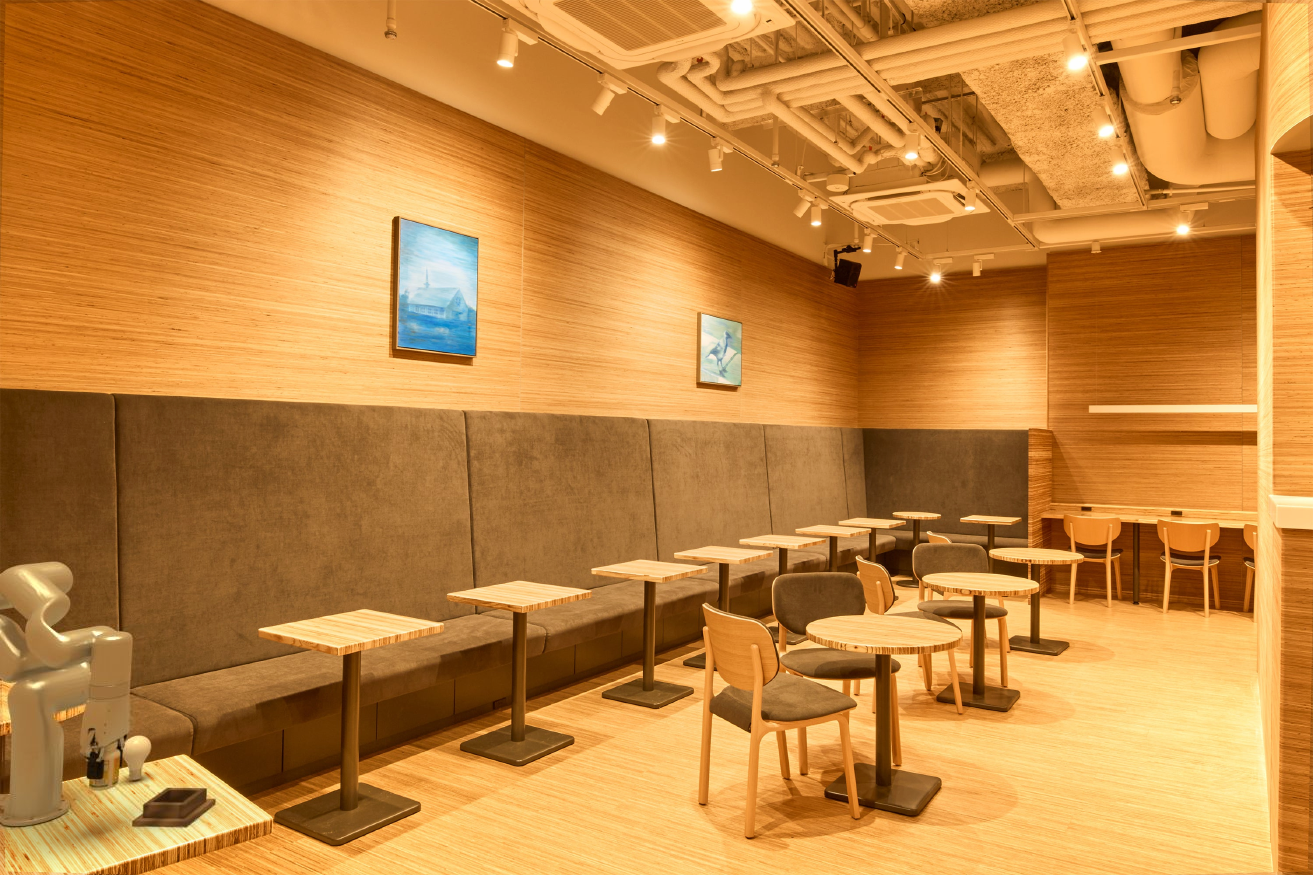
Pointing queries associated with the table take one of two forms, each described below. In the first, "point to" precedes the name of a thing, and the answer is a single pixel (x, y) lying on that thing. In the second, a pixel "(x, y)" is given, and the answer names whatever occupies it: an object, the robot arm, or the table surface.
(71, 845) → the table surface
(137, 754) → the lightbulb
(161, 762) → the table surface
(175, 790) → the holder
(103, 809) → the table surface
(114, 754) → the supplement bottle
